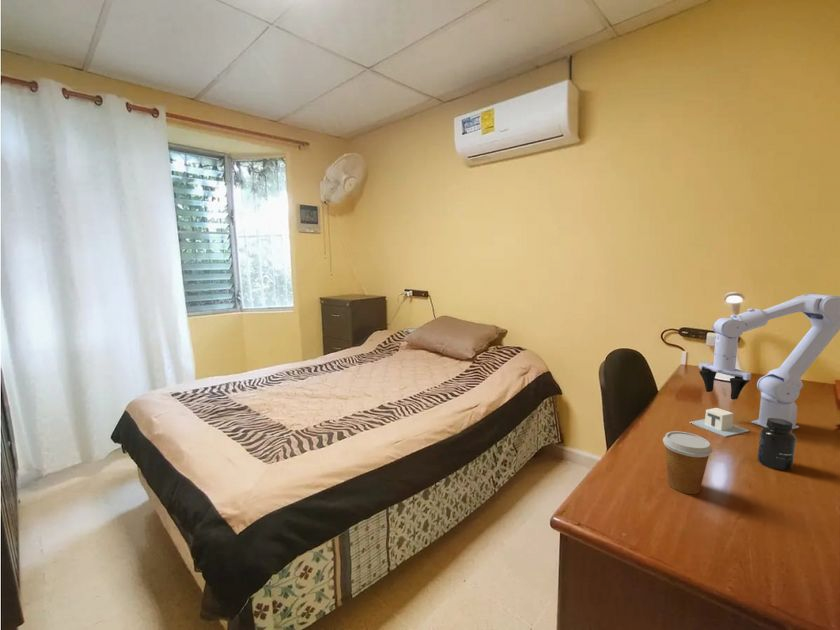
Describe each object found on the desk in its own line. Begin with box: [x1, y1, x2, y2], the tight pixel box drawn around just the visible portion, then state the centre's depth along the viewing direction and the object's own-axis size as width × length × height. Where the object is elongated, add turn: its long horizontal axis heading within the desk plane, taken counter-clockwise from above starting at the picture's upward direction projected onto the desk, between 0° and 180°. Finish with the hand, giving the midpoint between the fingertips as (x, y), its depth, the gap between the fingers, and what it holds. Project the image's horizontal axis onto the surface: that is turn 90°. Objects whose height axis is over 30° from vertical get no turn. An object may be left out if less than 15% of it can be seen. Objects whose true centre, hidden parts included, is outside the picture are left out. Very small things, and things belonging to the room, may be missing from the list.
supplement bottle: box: [756, 418, 797, 471], centre depth 98 cm, size 7×7×12 cm
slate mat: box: [688, 418, 750, 438], centre depth 121 cm, size 11×11×1 cm
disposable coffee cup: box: [662, 430, 713, 495], centre depth 89 cm, size 10×10×12 cm
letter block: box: [704, 407, 734, 431], centre depth 121 cm, size 5×5×5 cm
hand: (721, 395), depth 123 cm, fingers open, 7 cm apart
